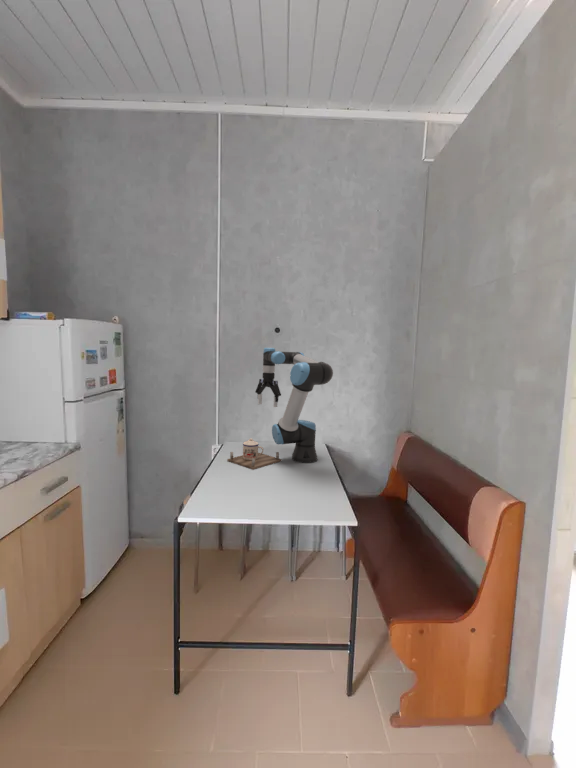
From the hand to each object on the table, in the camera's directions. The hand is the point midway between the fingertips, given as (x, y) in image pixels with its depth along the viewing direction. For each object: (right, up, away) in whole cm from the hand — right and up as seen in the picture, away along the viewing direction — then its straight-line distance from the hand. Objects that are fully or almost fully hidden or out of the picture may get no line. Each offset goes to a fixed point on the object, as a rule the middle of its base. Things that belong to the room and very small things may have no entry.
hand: (267, 405), depth 248 cm
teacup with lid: (-7, -30, -22) cm, 38 cm away
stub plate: (-6, -31, -23) cm, 39 cm away
